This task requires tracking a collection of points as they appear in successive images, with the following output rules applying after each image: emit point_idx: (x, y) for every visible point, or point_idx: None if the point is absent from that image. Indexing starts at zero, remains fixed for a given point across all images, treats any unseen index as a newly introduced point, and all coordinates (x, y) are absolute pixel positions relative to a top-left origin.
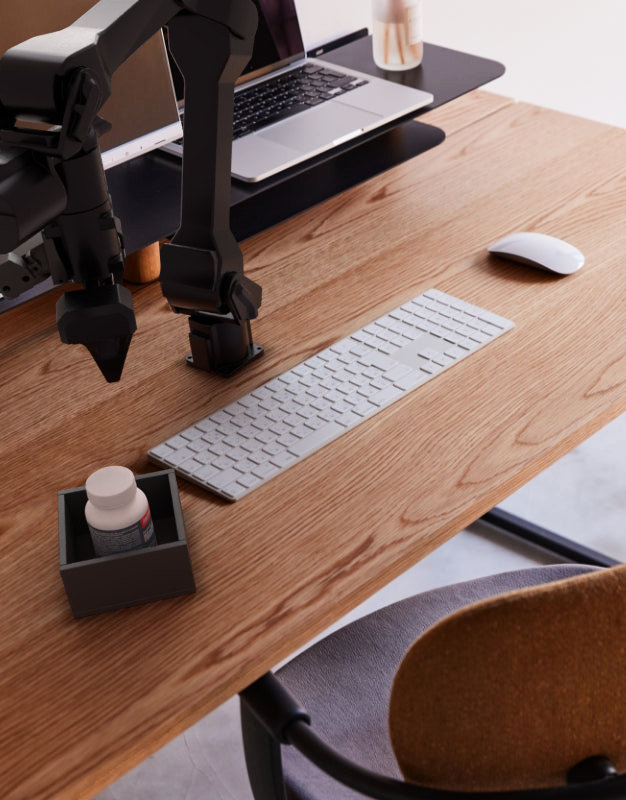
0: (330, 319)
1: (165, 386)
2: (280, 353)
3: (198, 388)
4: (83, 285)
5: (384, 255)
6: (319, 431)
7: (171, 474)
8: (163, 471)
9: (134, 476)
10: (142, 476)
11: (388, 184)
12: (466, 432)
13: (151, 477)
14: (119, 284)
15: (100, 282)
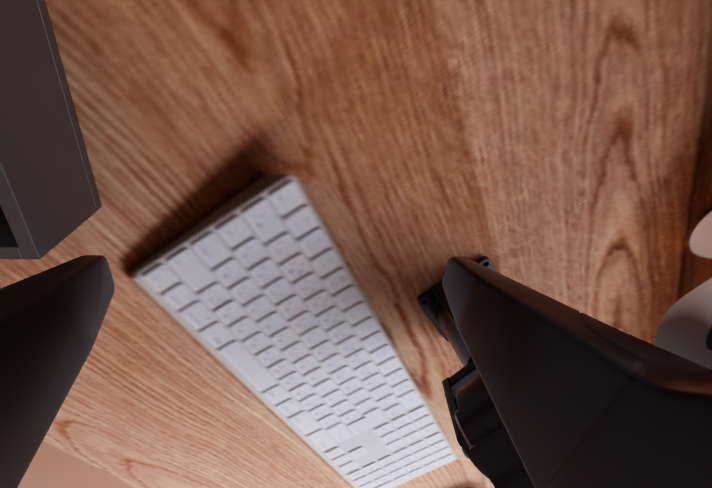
0: None
1: (447, 222)
2: (434, 350)
3: (417, 262)
4: (624, 375)
5: None
6: (262, 371)
7: (15, 253)
8: (25, 240)
9: (5, 180)
10: (4, 197)
11: None
12: (216, 468)
13: (6, 214)
14: (526, 458)
15: (579, 438)
